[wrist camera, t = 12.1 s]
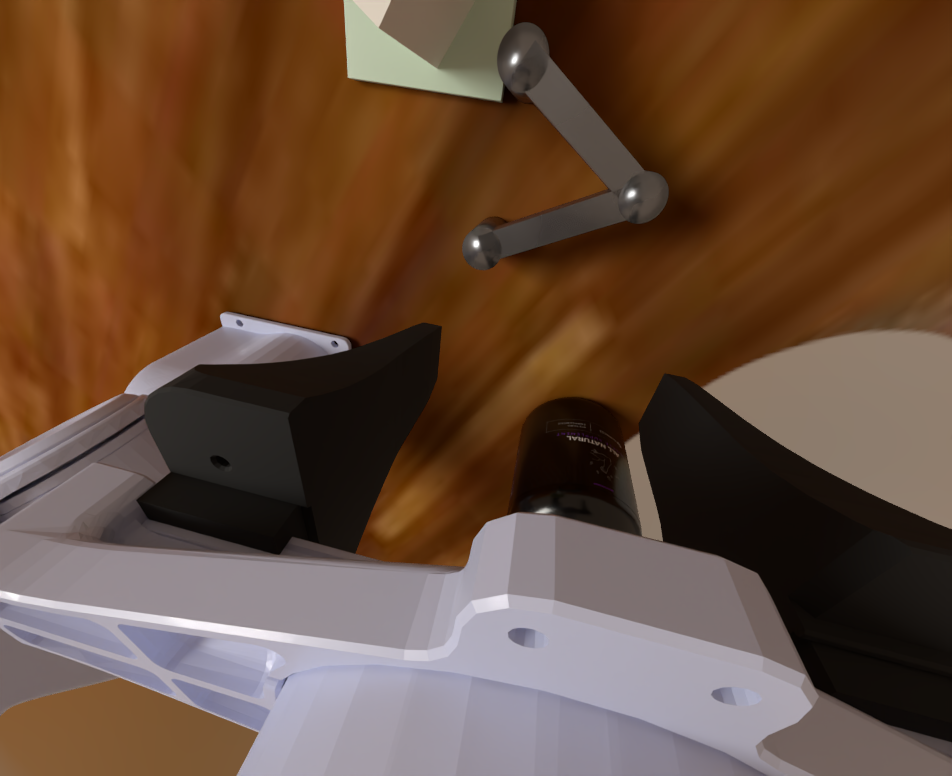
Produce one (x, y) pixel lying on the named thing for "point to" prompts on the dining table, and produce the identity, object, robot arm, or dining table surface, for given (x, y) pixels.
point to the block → (419, 23)
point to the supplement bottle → (574, 466)
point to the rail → (588, 135)
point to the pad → (458, 73)
